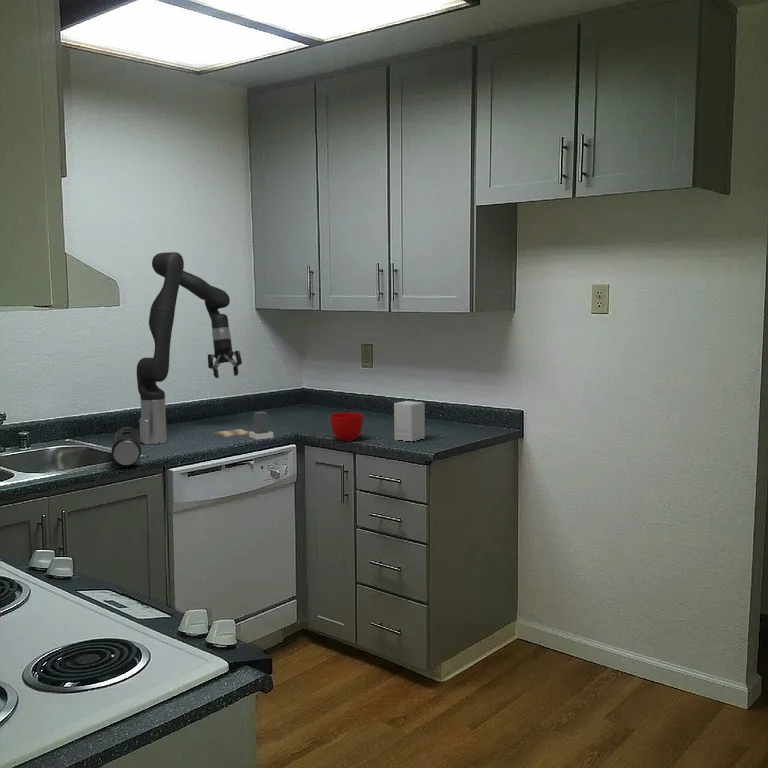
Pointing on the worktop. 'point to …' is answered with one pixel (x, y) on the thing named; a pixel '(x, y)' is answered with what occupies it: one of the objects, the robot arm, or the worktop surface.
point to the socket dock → (261, 435)
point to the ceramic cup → (346, 425)
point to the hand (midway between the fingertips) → (226, 376)
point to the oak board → (232, 433)
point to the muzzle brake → (126, 446)
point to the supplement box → (409, 421)
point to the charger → (260, 422)
